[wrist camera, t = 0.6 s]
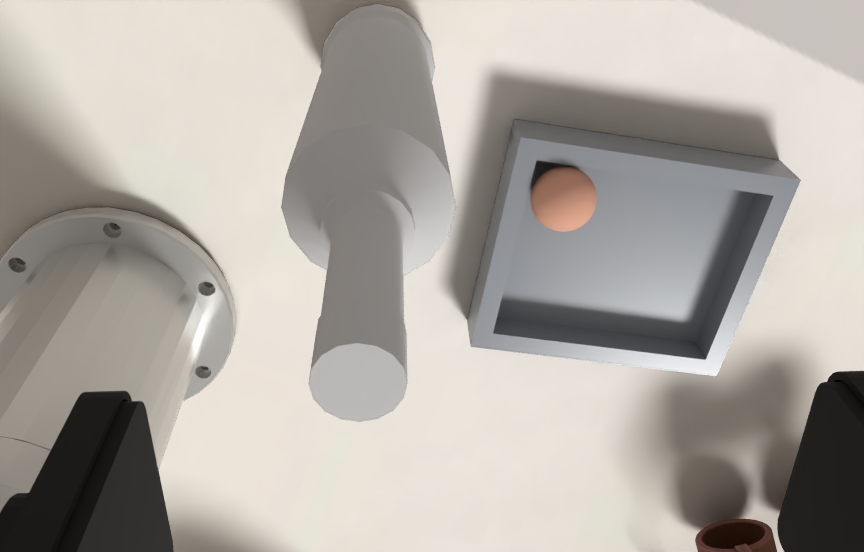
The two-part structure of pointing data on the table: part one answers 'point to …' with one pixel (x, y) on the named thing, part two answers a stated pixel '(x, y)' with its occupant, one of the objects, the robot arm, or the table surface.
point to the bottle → (368, 202)
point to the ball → (563, 198)
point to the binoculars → (736, 537)
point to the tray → (628, 251)
